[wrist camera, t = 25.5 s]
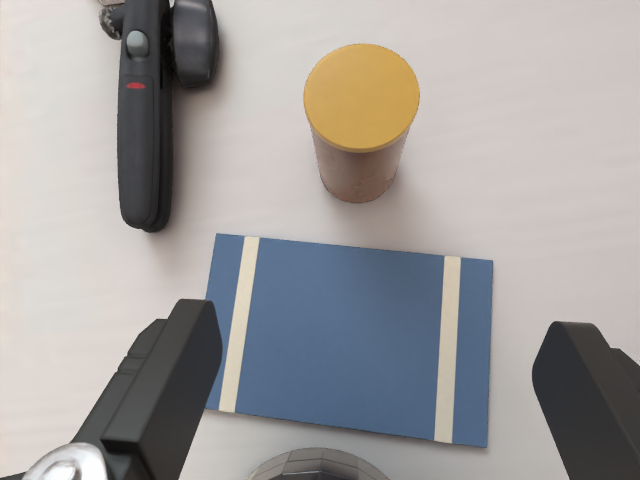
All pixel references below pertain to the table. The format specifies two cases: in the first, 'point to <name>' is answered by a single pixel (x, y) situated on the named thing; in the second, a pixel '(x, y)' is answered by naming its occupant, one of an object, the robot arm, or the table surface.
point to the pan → (317, 466)
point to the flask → (111, 2)
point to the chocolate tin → (360, 118)
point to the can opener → (155, 94)
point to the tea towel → (353, 337)
